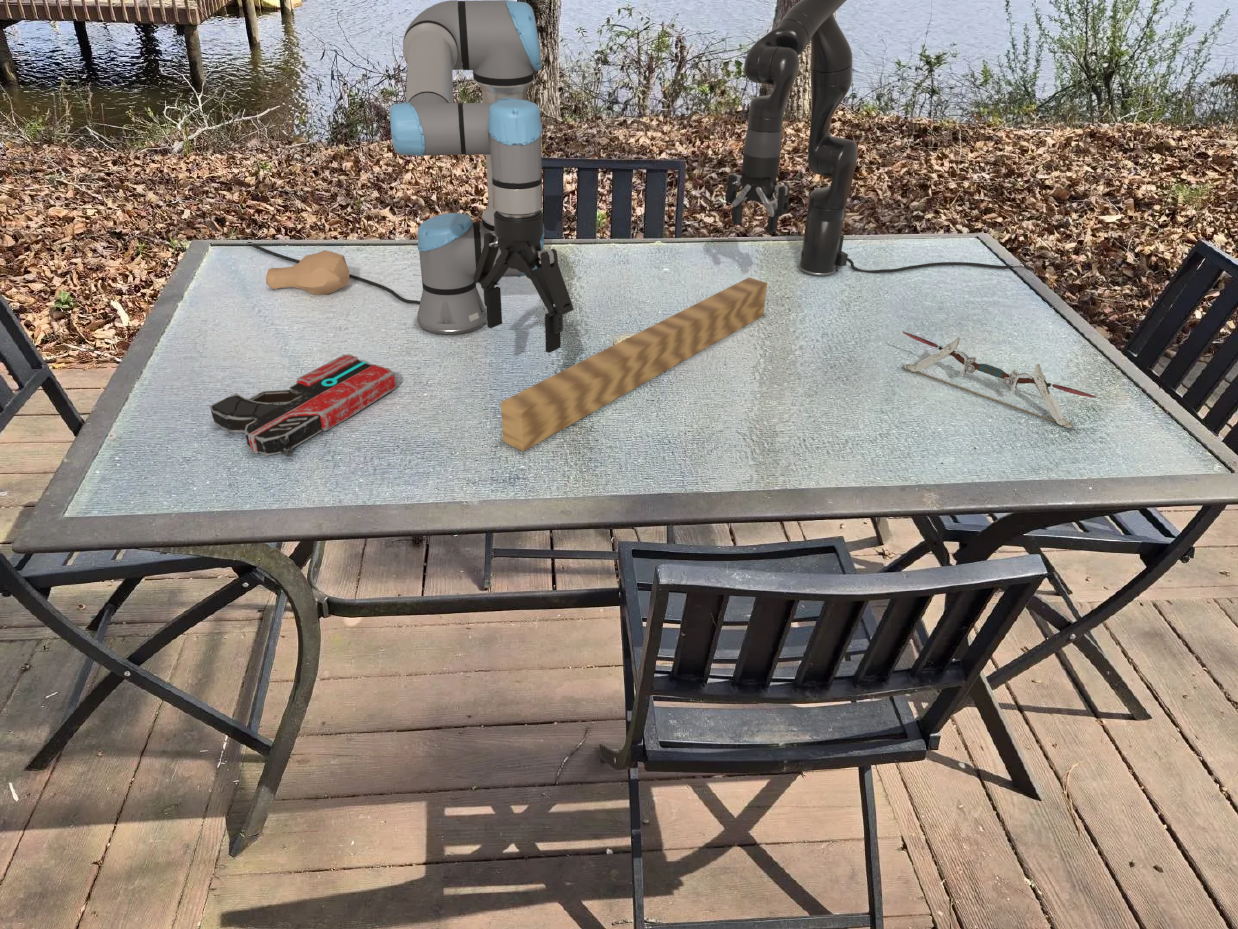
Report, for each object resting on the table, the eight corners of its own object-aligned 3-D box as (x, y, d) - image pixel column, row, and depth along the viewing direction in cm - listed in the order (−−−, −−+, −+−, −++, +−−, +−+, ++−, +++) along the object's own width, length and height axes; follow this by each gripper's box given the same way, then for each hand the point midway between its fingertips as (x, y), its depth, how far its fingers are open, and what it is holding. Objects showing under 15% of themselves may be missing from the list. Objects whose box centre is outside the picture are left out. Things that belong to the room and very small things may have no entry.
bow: (1085, 430, 164) (1103, 383, 158) (1082, 434, 163) (1099, 386, 157) (897, 362, 185) (907, 319, 179) (893, 365, 184) (902, 321, 178)
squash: (349, 299, 206) (336, 265, 200) (267, 306, 208) (252, 273, 202) (359, 274, 214) (347, 241, 208) (280, 281, 216) (266, 249, 209)
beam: (522, 451, 153) (521, 411, 149) (502, 441, 156) (500, 401, 151) (763, 315, 204) (767, 282, 200) (745, 309, 207) (748, 277, 202)
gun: (194, 409, 153) (271, 444, 146) (327, 342, 175) (400, 368, 168) (201, 431, 156) (277, 466, 148) (331, 362, 178) (403, 389, 170)
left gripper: (596, 223, 130) (594, 352, 141) (480, 188, 143) (488, 309, 154) (561, 235, 125) (563, 368, 137) (445, 198, 138) (455, 322, 150)
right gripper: (801, 154, 180) (790, 231, 189) (743, 141, 187) (735, 216, 196) (782, 161, 175) (772, 240, 184) (723, 148, 183) (716, 224, 192)
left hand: (523, 337), depth 146 cm, fingers open, 13 cm apart
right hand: (753, 228), depth 190 cm, fingers open, 8 cm apart
